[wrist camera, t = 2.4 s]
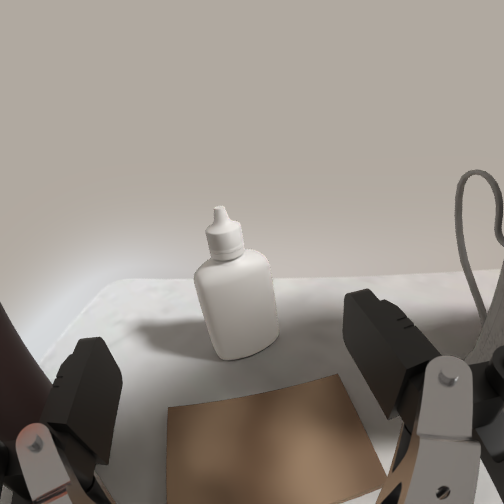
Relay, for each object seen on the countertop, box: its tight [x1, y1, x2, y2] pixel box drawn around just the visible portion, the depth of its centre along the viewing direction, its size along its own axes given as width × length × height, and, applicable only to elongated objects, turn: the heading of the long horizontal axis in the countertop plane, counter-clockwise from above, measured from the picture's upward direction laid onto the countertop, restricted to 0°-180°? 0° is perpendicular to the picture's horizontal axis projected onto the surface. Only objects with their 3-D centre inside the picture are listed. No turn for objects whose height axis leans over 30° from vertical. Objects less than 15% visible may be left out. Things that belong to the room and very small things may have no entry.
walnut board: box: [166, 374, 387, 504], centre depth 14 cm, size 12×9×1 cm
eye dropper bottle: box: [194, 206, 279, 360], centre depth 22 cm, size 4×6×12 cm
